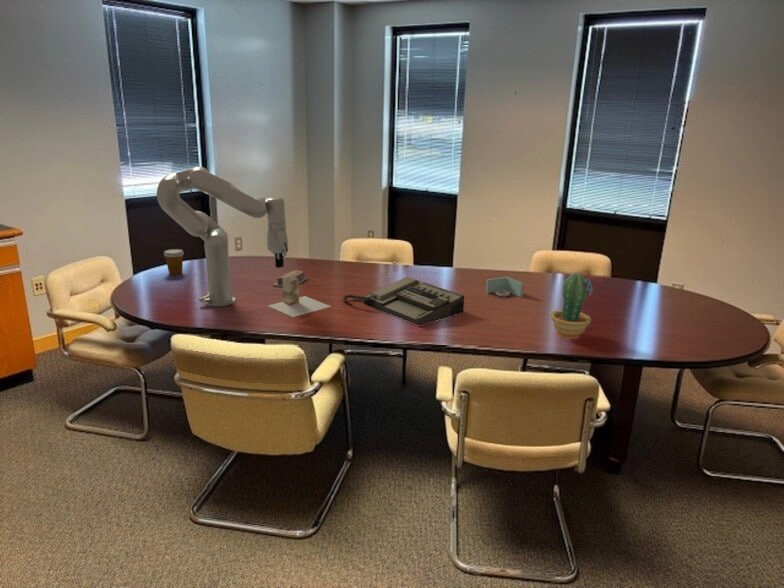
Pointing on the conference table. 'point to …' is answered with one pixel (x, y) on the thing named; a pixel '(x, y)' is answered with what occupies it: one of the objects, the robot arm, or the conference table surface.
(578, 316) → the potted cactus
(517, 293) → the l-shaped corner panel
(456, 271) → the conference table surface
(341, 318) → the conference table surface
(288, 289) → the maple block
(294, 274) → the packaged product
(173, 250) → the disposable coffee cup
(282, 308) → the mat
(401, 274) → the conference table surface
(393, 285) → the fax machine
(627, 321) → the conference table surface
